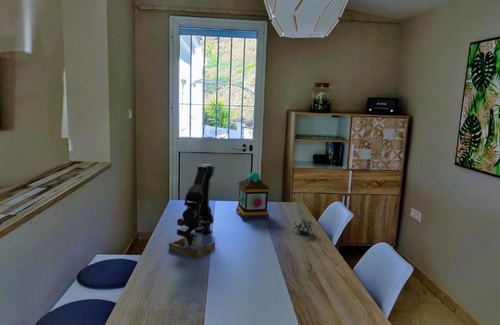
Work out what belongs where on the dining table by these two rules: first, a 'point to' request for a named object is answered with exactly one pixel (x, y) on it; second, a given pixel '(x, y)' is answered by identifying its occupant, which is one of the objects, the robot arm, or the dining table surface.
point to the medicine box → (194, 242)
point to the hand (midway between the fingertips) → (193, 244)
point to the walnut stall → (192, 254)
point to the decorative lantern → (253, 197)
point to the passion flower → (304, 226)
